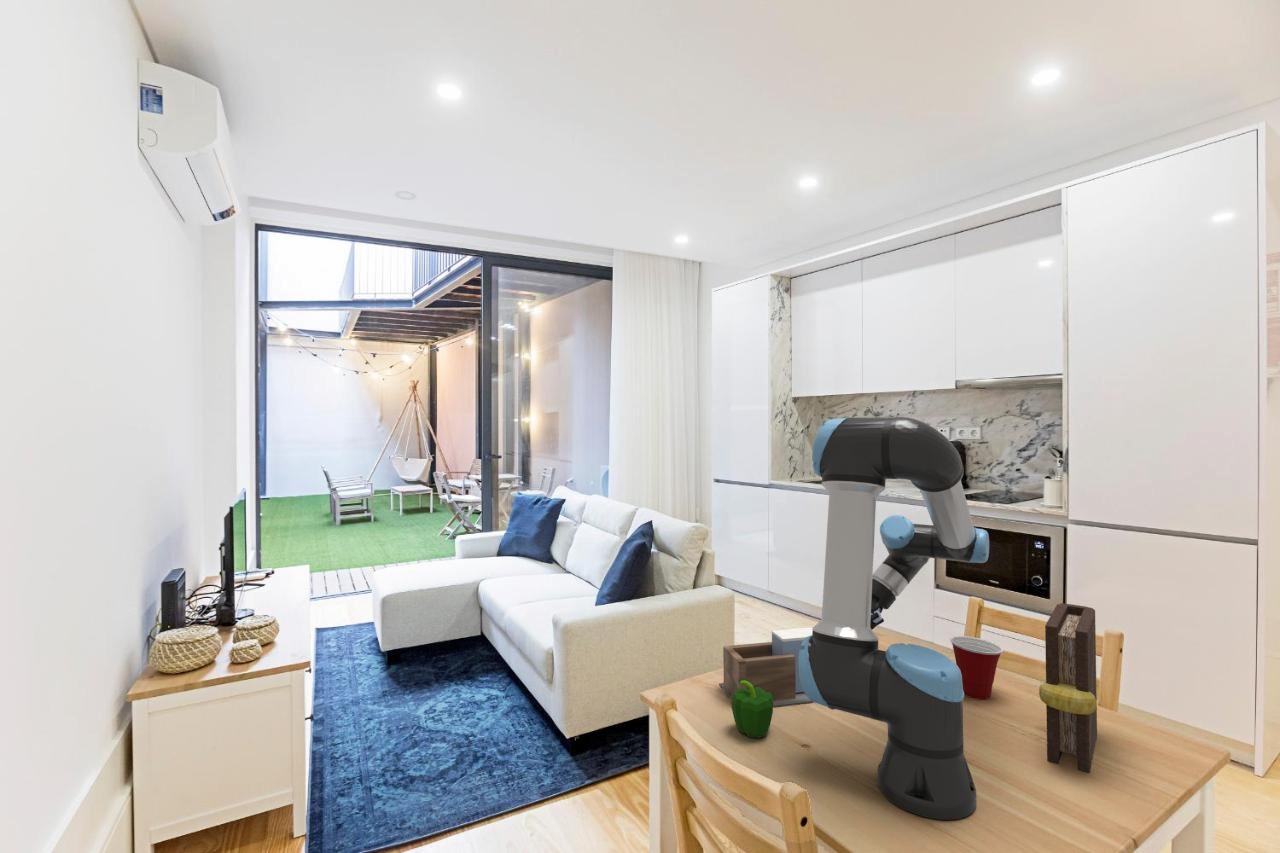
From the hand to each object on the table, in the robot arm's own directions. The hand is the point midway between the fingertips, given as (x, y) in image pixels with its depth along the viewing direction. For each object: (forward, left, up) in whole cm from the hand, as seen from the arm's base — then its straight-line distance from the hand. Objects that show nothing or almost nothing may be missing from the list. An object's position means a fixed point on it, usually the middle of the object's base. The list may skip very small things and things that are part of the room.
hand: (822, 661), depth 145 cm
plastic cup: (-12, -32, -6) cm, 35 cm away
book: (-37, -32, -6) cm, 49 cm away
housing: (0, +14, -6) cm, 15 cm away
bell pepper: (-16, +25, -6) cm, 30 cm away
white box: (0, +7, -5) cm, 8 cm away
